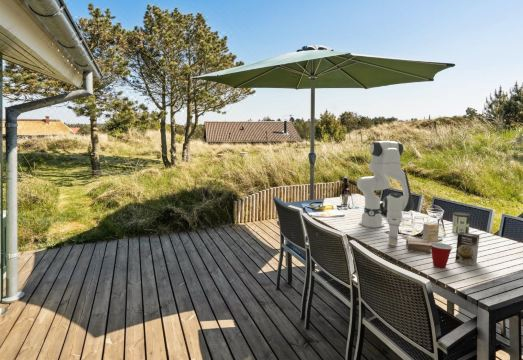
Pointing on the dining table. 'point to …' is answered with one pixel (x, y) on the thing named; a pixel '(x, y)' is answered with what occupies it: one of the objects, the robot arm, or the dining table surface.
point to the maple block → (392, 241)
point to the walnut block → (418, 245)
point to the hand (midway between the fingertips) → (392, 239)
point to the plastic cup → (440, 254)
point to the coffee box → (467, 248)
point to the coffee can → (460, 222)
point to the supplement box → (431, 232)
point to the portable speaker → (383, 209)
